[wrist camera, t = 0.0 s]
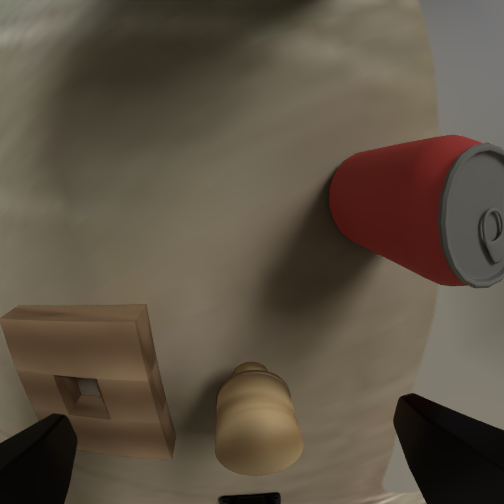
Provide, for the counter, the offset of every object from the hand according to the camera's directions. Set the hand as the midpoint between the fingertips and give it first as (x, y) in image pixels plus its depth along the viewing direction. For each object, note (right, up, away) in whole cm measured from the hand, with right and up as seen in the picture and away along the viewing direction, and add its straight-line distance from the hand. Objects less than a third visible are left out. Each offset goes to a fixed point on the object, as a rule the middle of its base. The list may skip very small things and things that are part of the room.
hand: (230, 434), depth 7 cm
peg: (0, -5, +16) cm, 17 cm away
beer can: (+9, +8, +14) cm, 19 cm away
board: (-13, -6, +15) cm, 21 cm away
